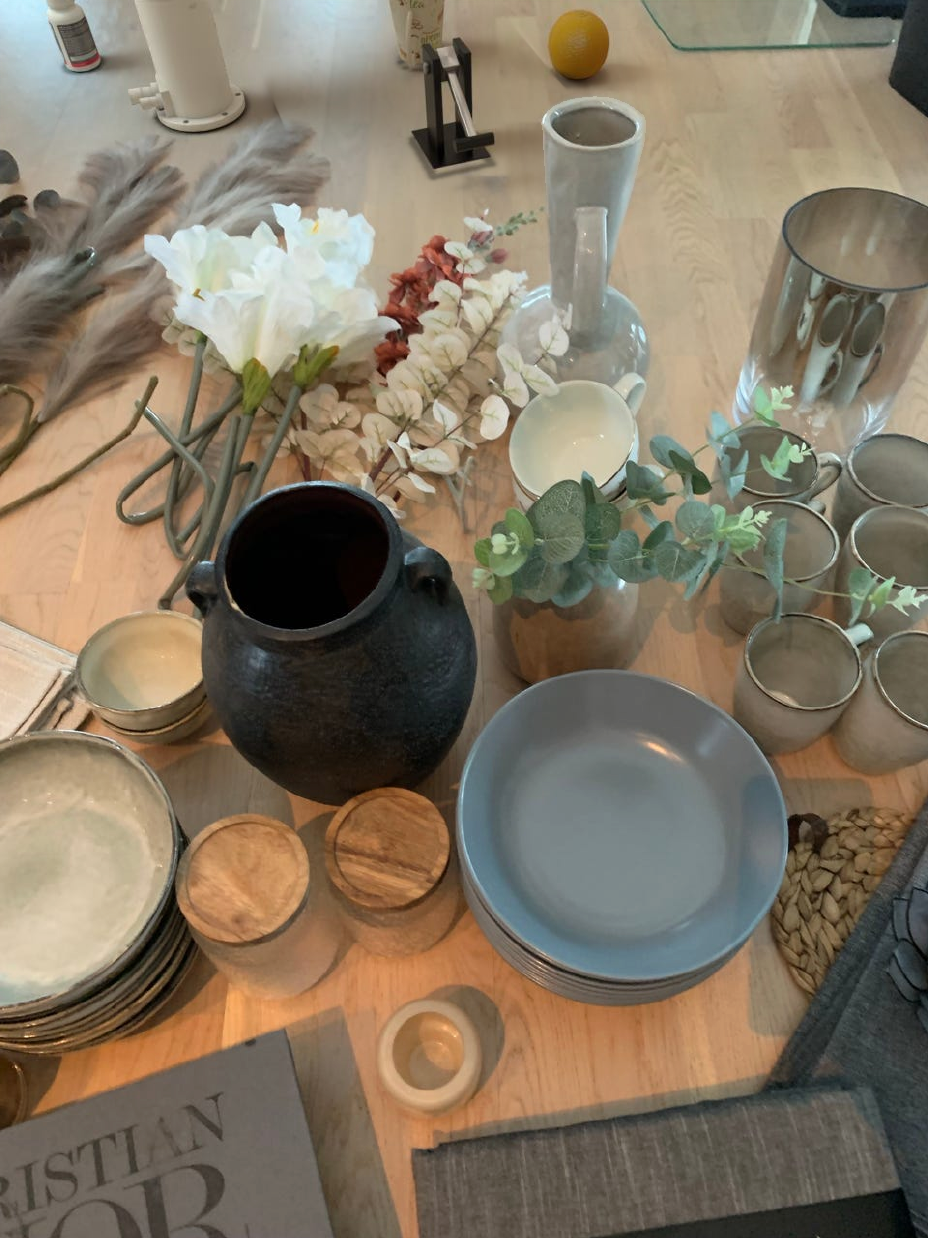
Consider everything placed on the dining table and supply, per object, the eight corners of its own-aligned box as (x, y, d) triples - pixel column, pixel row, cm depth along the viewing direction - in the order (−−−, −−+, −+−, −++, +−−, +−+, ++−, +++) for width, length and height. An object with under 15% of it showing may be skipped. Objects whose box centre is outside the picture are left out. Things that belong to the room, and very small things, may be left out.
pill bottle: (108, 59, 134) (83, -14, 126) (87, 75, 131) (60, 1, 123) (80, 53, 135) (53, -19, 127) (59, 69, 132) (30, -4, 124)
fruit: (595, 57, 130) (600, -4, 123) (614, 82, 126) (620, 21, 119) (539, 66, 129) (542, 5, 122) (556, 92, 125) (560, 30, 118)
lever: (493, 149, 108) (496, 136, 105) (455, 157, 107) (457, 144, 105) (461, 57, 109) (463, 42, 107) (424, 65, 108) (425, 50, 106)
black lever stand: (490, 164, 115) (490, 60, 104) (434, 176, 113) (427, 72, 103) (466, 127, 120) (463, 24, 109) (411, 139, 119) (403, 36, 108)
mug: (450, 48, 133) (448, -28, 124) (441, 89, 126) (438, 11, 118) (397, 47, 133) (391, -29, 125) (385, 87, 127) (378, 10, 118)
